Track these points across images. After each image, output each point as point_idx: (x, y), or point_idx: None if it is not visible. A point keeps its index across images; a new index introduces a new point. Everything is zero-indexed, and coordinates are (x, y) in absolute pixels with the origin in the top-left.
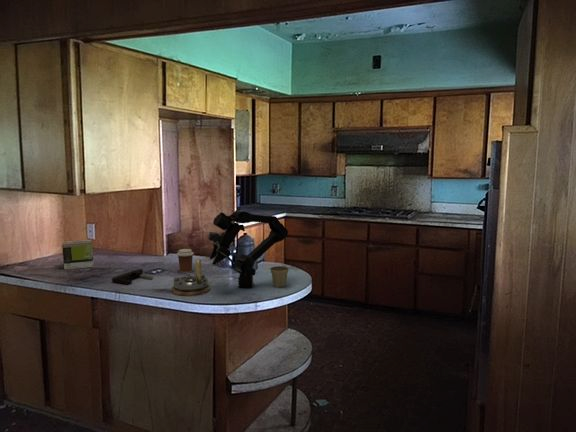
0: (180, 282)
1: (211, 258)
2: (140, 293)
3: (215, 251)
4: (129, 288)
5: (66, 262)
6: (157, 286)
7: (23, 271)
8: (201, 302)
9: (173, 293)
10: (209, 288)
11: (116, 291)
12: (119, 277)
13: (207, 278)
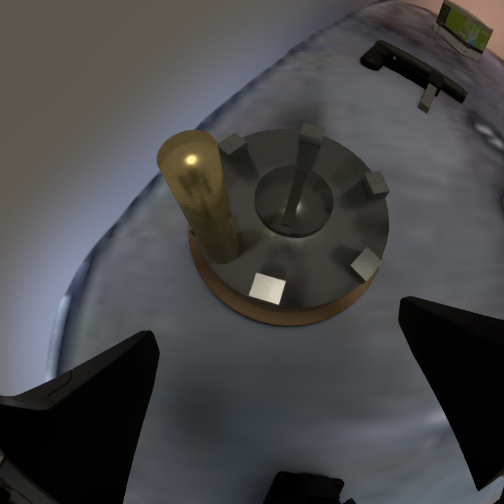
0: (222, 150)
1: (402, 321)
2: (272, 80)
3: (471, 379)
4: (328, 63)
5: (438, 22)
6: (352, 114)
7: (407, 8)
8: (95, 275)
9: None
10: (259, 320)
11: (301, 47)
12: (389, 49)
13: (273, 302)
